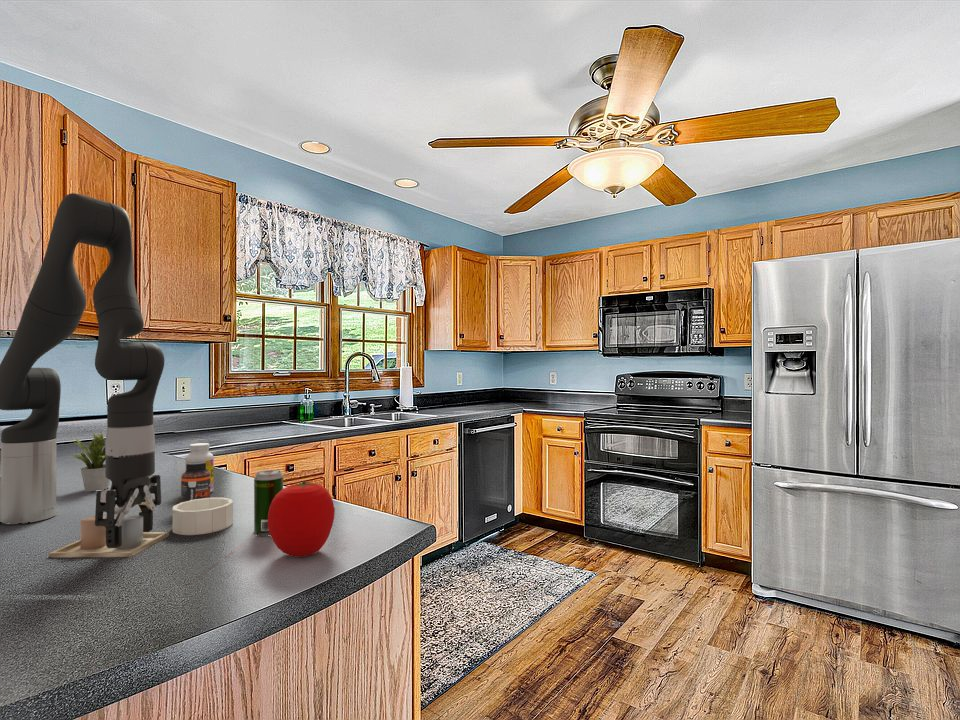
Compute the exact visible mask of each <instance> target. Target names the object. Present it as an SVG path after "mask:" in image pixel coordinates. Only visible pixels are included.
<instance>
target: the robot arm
mask: <svg viewBox="0 0 960 720" xmlns="http://www.w3.org/2000/svg"><path fill="white" fill-rule="evenodd" d="M49 235H50V236H49V239H48V243H47V247H46V250H45V253H44V257H43V260H42V263H41V266H40V268H39V270H38V274H37V275H36V278H35V281H34V283H33V285H32V288H31V290H30V293H29V295H28V298H27V300H26V302H25V305H24V307H23V310H22V314H21V318H20V321H19V323H18V326H17V328H16V331H15V333H14V337H13V339H12V341H11V344H10V345H9V347H8V349H7V351H6V352H5V354H4V357H3V359H2V360H1V362H0V410H1V411H25V410H27V411H28V410H31V413H30V415H29V416H28V417H26V418H25V419H24V420H22V421H20V422H18V423H16V424H13V425H10V426H8V427H7V426H6V427H5V428H4V429H3V430H2V431H1V433H0V441H1V442H0V522H2V523H10V524H9V525H19V524H18V523H22V524H28V522H30V523H35V522H40V521H43V520H47V519H50V518H53V517H55V516H56V515H57V431H58V428H59V422H60V407H61V406H60V405H61V391H62V390H61V389H62V385H61V379H60V376H59V373H58V372H57V371H56V370H54V369H53V368H51V367H33V366H34V365H35V364H36V362H37V361H38V360H39V359H40V358H41V357H42V356H44V355H45V354H46V353H48V352H50V350H53V349H54V348H55V347H56V346H58V345H59V344H61V343H62V342H64V341H65V340H66V339H68V338H69V337H70V336H71V335H72V334H73V333H74V332H75V331H76V330H77V328H78V326H79V324H80V322H81V319H82V317H83V315H84V312H85V309H86V307H87V297H86V296H87V295H86V293H85V290H84V287H83V286H82V283H81V280H80V279H79V275H78V273H77V272H76V268H75V265H74V264H75V263H74V254H75V251H76V247H77V246H78V244H83V245H88V246H92V247H97V248H102V249H106V250H107V252H108V255H109V263H108V264H107V267H106V269H104V271H103V273H102V274H101V275H100V277H99V279H98V280H97V281H96V283H95V286H94V288H93V293H92V301H93V307H94V310H95V315H96V320H97V325H98V339H97V345H96V346H97V347H96V352H95V357H94V367H95V370H96V372H97V373H98V375H100V376H101V378H103V379H105V380H107V381H136V383H135V385H134V387H132V389H131V390H129V391H126V392H122V393H117V394H113V395H111V396H110V397H109V398H108V400H107V406H106V409H107V410H106V412H107V413H106V416H107V420H106V422H107V424H106V425H107V429H106V435H105V438H106V439H105V443H104V444H105V446H104V448H105V461H104V464H105V476H106V478H107V479H110V482H111V485H110V487H109V489H106V490H102V491H96V493H95V494H96V497H95V514H94V516H95V525H96V526H104V527H105V528H106V546H107V548H118V547H120V546H121V545H122V526H120V525H121V523H122V520H123V518H124V517H126V515H127V514H129V512H130V510H131V509H132V508H133V507H135V506H136V508H137V509H138V511H139V512H138V515H140V516H143V532H152V531H153V530H154V529H153V525H154V512H155V510H156V507H157V506H160V505H161V504H162V488H161V487H162V486H161V484H162V483H161V475H160V474H155V471H156V468H155V467H156V464H155V463H156V461H155V460H156V456H155V455H156V451H155V450H156V446H155V445H156V443H155V442H156V435H155V429H154V404H155V403H154V402H155V397H156V394H157V390H158V387H159V384H160V380H161V377H162V374H163V371H164V367H165V354H164V352H163V351H162V349H161V347H160V346H159V345H158V344H155V343H153V342H142V341H141V342H136V341H121V340H123V339H129V338H132V337H135V336H137V335H139V334H140V333H141V332H142V331H143V330H144V326H145V325H144V318H143V314H142V310H141V306H140V302H139V299H138V295H137V289H136V284H135V270H134V268H135V267H134V250H133V249H134V248H133V234H132V225H131V220H130V217H129V213H128V212H127V211H126V209H124V207H122V206H120V205H117V204H115V203H112V202H110V201H109V202H108V201H105V200H101V199H97V198H94V197H90V196H87V195H84V194H81V193H75V192H74V193H73V192H72V193H68V194H66V195H65V196H64V197H63V198H62V199H61V201H60V203H59V206H58V208H57V209H56V214H55V217H54V220H53V224H52V228H51V232H50V234H49ZM152 494H153V495H154V496H153V495H152ZM116 506H117V507H116ZM104 513H106V515H105V516H106V517H105V519H103V516H104ZM115 515H116V517H115ZM2 523H1V524H2Z"/></svg>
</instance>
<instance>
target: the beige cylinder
mask: <svg viewBox="0 0 960 720" xmlns="http://www.w3.org/2000/svg"><path fill="white" fill-rule="evenodd" d="M105 517H106V515H103V519H105ZM80 540H81V544H80V549H82V550H92V549H97V548H101V547H104V546H106V528H105V527H104V526H96V525H95V515H94V516H88V517H85V518H82V519H81V520H80Z"/></svg>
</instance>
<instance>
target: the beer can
mask: <svg viewBox="0 0 960 720" xmlns="http://www.w3.org/2000/svg"><path fill="white" fill-rule="evenodd" d="M253 487H254V488H253V499H254V500H253V501H254V502H253V515H254V516H253V517H254V518H253V531H254V534H255V535H256V536H258V535H259V536H258V537H269V536H268V535H270V533H269V528H268V513H269V508H270V505H271V503H272V500H273V499H274V497H275V496H276V495H277V494H278V493H279V492H280V491H281V490H282V489H284V475H283V471H282V470H280V469H279V470H278V469H267V470H261V471H257V472H255V476H254V479H253Z"/></svg>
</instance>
